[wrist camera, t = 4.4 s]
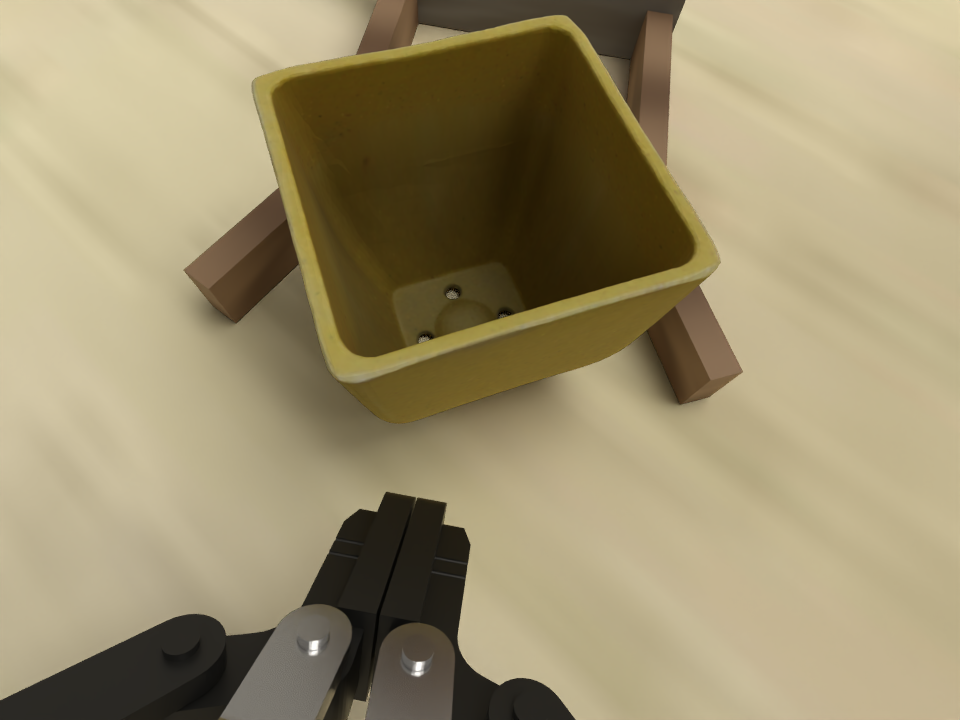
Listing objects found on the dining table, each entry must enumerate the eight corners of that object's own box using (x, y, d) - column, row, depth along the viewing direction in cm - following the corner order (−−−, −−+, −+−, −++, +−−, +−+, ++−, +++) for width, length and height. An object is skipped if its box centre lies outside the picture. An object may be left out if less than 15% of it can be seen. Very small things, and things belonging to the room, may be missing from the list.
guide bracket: (709, 409, 20) (809, 340, 14) (208, 318, 20) (118, 215, 15) (709, 51, 28) (773, -82, 22) (349, -10, 28) (326, -156, 23)
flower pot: (382, 479, 18) (327, 386, 10) (323, 270, 21) (244, 68, 13) (613, 401, 20) (732, 265, 12) (527, 217, 23) (571, 7, 15)
